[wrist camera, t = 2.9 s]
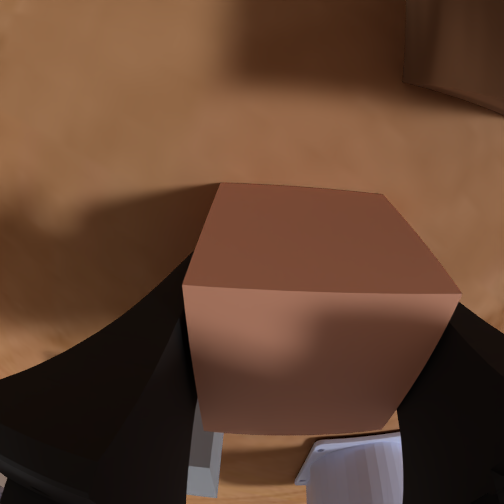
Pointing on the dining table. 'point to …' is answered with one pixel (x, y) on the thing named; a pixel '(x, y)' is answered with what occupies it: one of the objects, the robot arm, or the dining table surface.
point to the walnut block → (457, 49)
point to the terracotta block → (309, 310)
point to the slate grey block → (204, 460)
